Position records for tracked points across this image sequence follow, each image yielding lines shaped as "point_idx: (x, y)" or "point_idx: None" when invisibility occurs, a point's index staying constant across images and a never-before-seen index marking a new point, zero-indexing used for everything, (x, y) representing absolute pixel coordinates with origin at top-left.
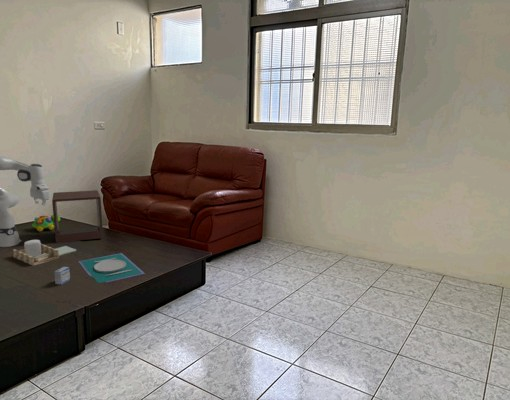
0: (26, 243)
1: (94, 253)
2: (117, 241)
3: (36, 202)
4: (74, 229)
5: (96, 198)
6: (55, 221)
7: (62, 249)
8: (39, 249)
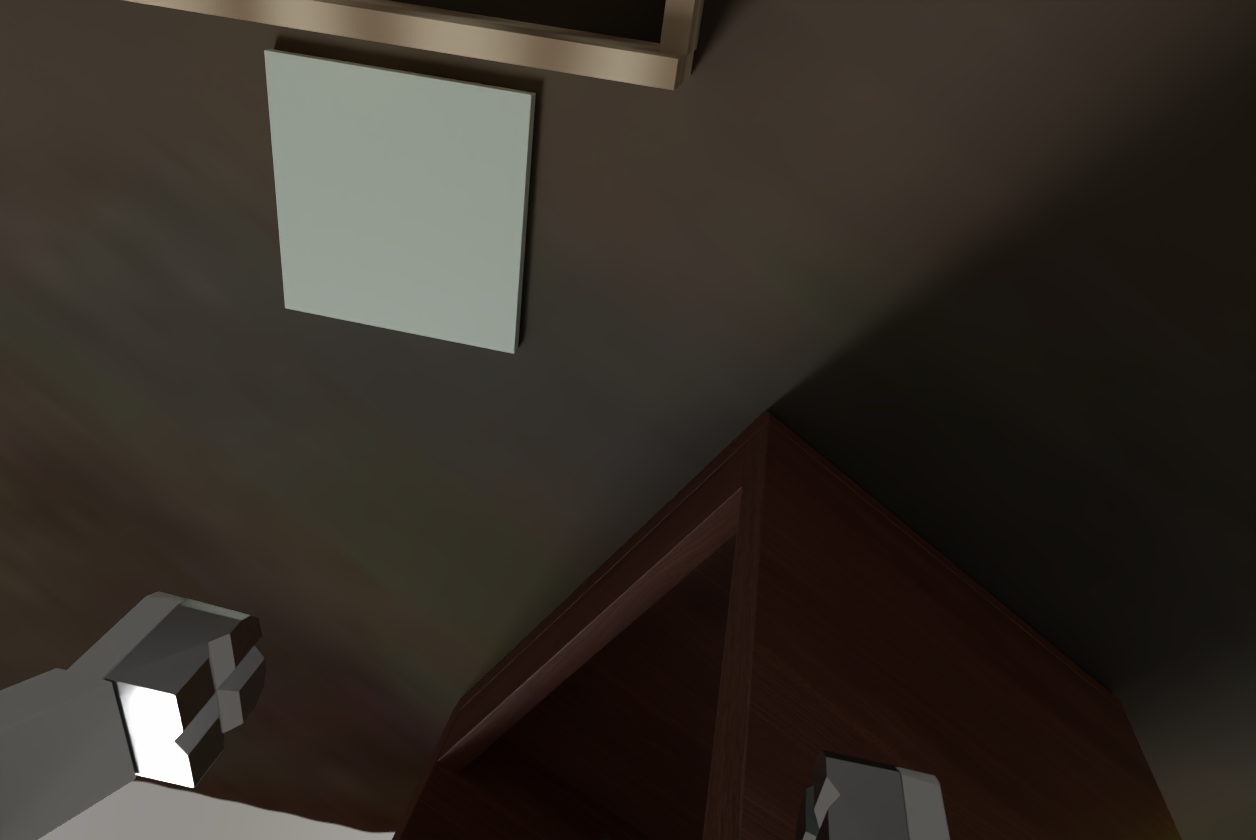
0: None
1: (72, 326)
2: None
3: (828, 815)
4: None
5: None
6: (736, 626)
7: (420, 235)
8: None
